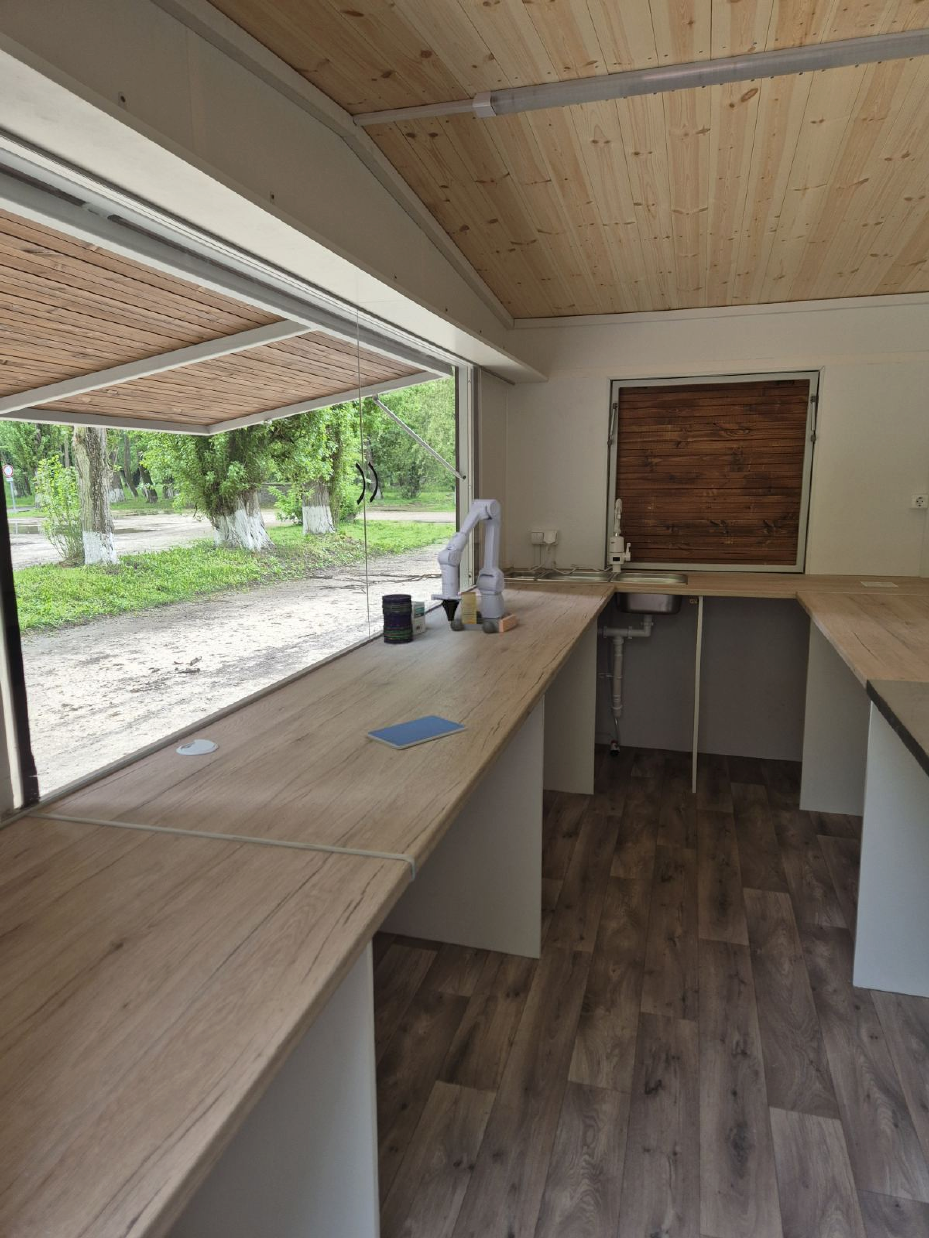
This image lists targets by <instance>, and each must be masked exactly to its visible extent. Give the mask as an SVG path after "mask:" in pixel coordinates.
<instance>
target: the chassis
mask: <svg viewBox="0 0 929 1238" xmlns="http://www.w3.org/2000/svg"><path fill="white" fill-rule="evenodd" d="M516 618H517V615H516V614H512V613H510V612H504V614H503V615H502V616H501V617H500V619H499V618H482V611H479V610H476V622H477V624H466V623H462V619H461V620H460V619H459V618H456V619H455V618H454V620H453V621H450V629H451V630H452V631H454V632H459V631H460V630H463V631H464V630H465V631H479V632H483V633H485V634H491V633H493V632H495V633H504V632H507V631H508V630H511V629H514V628H515V627H516V626H517V622H516V621H517V619H516Z"/></svg>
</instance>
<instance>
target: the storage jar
mask: <svg viewBox="0 0 929 1238" xmlns="http://www.w3.org/2000/svg"><path fill="white" fill-rule="evenodd" d="M381 600H382V601H381V608H382V609H381V610H382V611H381V612H382V616H383V625H382V628H383V629H382V635H383V643H384V644H387V645H406V644H410V643H413V642H414V635H413V625H412V617H411V613H412V601H413V600H412V595H411V594H405V593H396V594H395V593H393V594H392V593H391V594H385V595H382V596H381Z"/></svg>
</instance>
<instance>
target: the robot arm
mask: <svg viewBox="0 0 929 1238" xmlns="http://www.w3.org/2000/svg"><path fill="white" fill-rule="evenodd" d="M501 508H502V505H501V504H500V502H499V501H498V500H497V499H496V498H492V499H486V498H485V499H483V498H482V499H479V498H474V499H473V500H472V501H471V503H470V505H469V507H468V511H469V512H468V514H467V515H466V518H465V519H464V522H463V523H462V525H461V527H460V530H459V531H457V532H454V533H453V534H452V535H451V539H450V541H449V542H448V544H447V545H446V547H445V549H442V550H441V551H440V552H439V553H438V557H437V562H438V564H439V568H440V571H441V594H435V593H434V594H430V601H442V602H441V603H440V604H441V606H442V608H443V610H444V612H445V615H446V618H447V621H448V622H451V621H453V620H455V615H456V612H457V609H458V607H459V605H460V603H461V602H462V596H461V594H459V579H458V577H459V573H458V572H459V571H458V570H459V568H458V566H459V564H460V563H461V561H462V555H463V551H464V550H465V548H466V546H467V545H468V543H469V536H470V534H471V533H472V531H473V530H474V528H475V527H476V525H477V524H478V522H479V521H482V522H483V523H484V524H485V538H484V539H485V540H484V552H483V553H484V554H483V555H484V556H483V557H484V559H483V567H482V568H480V570H479V571H478V576H477V579H476V588H477V589H478V591H479V593H480V597H481V598H480V599H481V601H480V602H481V603H480V604H481V614H482V618H485V619H499V618H501V616H502V615H503V614H504V613H505V612H504V611H505V609H504V608H505V607H504V606H505V605H504V603H505V599H504V596H503V591H504V589H505V585H506V582H505V578H504V577H505V575H504V574H505V573H504V572H503V571H502V570H501V569H500V568H499V563H500V562H499V561H500V560H499V559H500V542H501V541H500V540H501V528H502V527H501V525H502V519H501V512H502V509H501Z"/></svg>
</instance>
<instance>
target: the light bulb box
mask: <svg viewBox="0 0 929 1238" xmlns="http://www.w3.org/2000/svg"><path fill="white" fill-rule="evenodd" d="M411 617H412V625H413V636H417V635H419V634H422V633H426V632H427V631H426V630H427V629H426V628H427V627H426V607H425V601H419V600H418V601H416V600H412V613H411Z"/></svg>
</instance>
